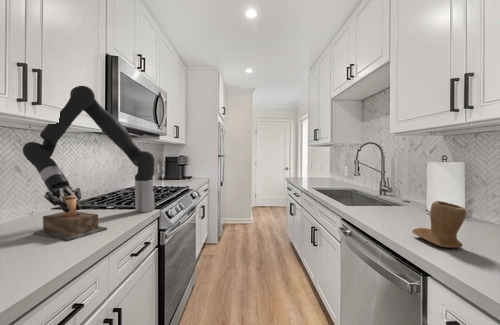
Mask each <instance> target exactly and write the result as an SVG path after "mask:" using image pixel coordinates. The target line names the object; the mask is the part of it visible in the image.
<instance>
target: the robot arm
mask: <svg viewBox="0 0 500 325" xmlns="http://www.w3.org/2000/svg"><path fill="white" fill-rule="evenodd" d="M69 96H70V97H69V99H68V101H67V102H66V104H65V105H64V107H63V108H62V109H61V110H60V111H59V112H60V118H59V123H56V124H49V123H48V124H47V125H46V126H45V127H44V128H43V129H42V131H41V132H40V133H39V137H40V138H41V139H42V140H43V141H42V144H40V143H39V142H37V141H29V142H26V143H25V144H24V145H23V146H22V152H23V155H24V157H25V158H26V160H28V161H29V162H30V164H32V166H33V167H35V169H36V170H37V172H38V174H39V176H40V177H41V180H42V181H43V183H44V185H45V187H46V188H47V190H48V191H46V192H45V194H44V195H43V198H45V199H46V200H47V202H49V203H50V204H52V205H53V206H59V207H60V208H61V209H62V211H63V212H68V211H69V210H70V209H69V207H68V205H67V204H66V202H65V201H64V197H65V196H76V211H79V210H81V208H82V205H81V203H80V201H81V199H82V192H81V189H80V188H79V187H77V188H73V187H72V186H71V185H70V181H69V180H68V179H67V176H65V174H64V172H63V171H62V170H61V169H60V168H59V165H58V164H57V163H56V161H55V160H54V159H53V158H52V156H53V155H54V151H55V150H56V147H57V144H58V142H59V140H61V138H62V137H63V136H64V134H65V133H66V132H67V130H68V129H69V128H70V126H71V125H72V124H73V122H74V121H75V120H76V119H77V117H79V115H80V114H81V113H82V112H85V114H87V115H88V116H89V117H90V118H91V119H92V121H93V122H94V123H95V124H96V126H98V128H99V129H100V130H101V131H102V133H104V135H105V136H106V137H108V138H109V139H110V140H111V141H112V142H113V143H114V144H115V145H116V146H117V147H118V148H119V149H120V150H121V151H123V153H124V155H126V156H127V158H128V159H129V160H130V162H131V163H132V164H133V165H134V166H135V167H137V173H136V174H135V175H134V191H135V193H134V194H135V196H134V198H135V205H134V206H135V207H134V208H135V213H149V212H152V211H154V210H155V209H156V207H155V192H154V184H153V181H154V180H153V178H154V175H155V156H154V155H153V153H152V152H150V151H146V150H142V149H140V148H139V147H138V146H137V145H136V144H135V143H134V141H133V140H132V137H131V135H130V132H128V130H127V128H126V127H125V126H124V125H123V123H121V122H120V120H118V119H117V118H116V117H115V116H114V115H112V114H111V113H110V112H109V111H107V110H106V109H105V108H103V106H102V105H101V104H100V103H99V102H98V101H97V99H96V95H95V92H94V90H92V88H91V87H89V86H87V85H78V86H75V87H73V88H72V89H71V90H70V94H69Z"/></svg>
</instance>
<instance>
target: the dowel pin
mask: <svg viewBox="0 0 500 325" xmlns="http://www.w3.org/2000/svg"><path fill="white" fill-rule="evenodd" d="M64 201H65V202H66V204H67V205H68V207H69V209H70V210H69V211H68V212H65V217H73V216H76V212H77V210H76V196H65V197H64Z"/></svg>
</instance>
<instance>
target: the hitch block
mask: <svg viewBox="0 0 500 325" xmlns="http://www.w3.org/2000/svg"><path fill="white" fill-rule="evenodd" d="M107 230H108V227H104V226H99V214H97V213H89V212H82V211H76V216H73V217H65V212H64V211H63V212H58V213H53V214H47V215H43V216H42V229H41V230H36V231H33V235H38V236H41V237H46V238H51V239H57V240H61V241H65V242H70V241H71V242H72V241H74V240H77V239H80V238H83V237H84V238H85V237H87V236H91V235H93V234H96V233H97V234H98V233H101V232H104V231H107Z"/></svg>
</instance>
